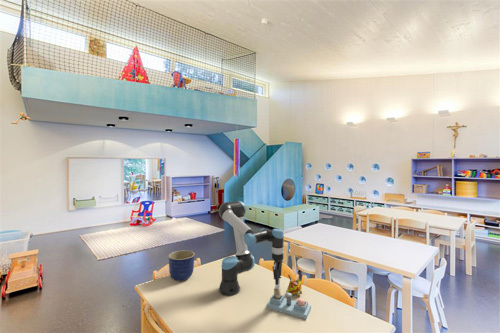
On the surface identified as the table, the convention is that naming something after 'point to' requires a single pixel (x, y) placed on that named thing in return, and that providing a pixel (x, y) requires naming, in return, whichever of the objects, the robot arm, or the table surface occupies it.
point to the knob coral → (301, 302)
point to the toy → (294, 286)
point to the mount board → (289, 307)
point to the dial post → (288, 299)
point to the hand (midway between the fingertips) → (277, 288)
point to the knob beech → (277, 294)
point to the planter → (181, 264)
